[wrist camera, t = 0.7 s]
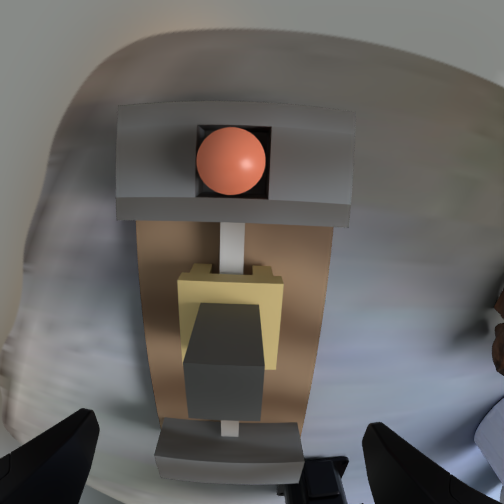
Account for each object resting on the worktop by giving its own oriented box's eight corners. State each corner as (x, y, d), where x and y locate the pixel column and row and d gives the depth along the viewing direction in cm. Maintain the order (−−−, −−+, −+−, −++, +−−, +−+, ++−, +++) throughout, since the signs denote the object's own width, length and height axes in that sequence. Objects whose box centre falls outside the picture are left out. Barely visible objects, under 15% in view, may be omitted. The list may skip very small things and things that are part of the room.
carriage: (272, 344, 19) (285, 437, 11) (190, 341, 19) (165, 432, 11) (277, 266, 17) (300, 339, 10) (187, 263, 17) (148, 333, 10)
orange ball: (260, 190, 13) (264, 195, 11) (204, 188, 13) (195, 194, 11) (262, 135, 13) (267, 128, 10) (206, 133, 13) (197, 126, 10)
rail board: (295, 436, 24) (303, 485, 18) (167, 431, 23) (155, 480, 18) (332, 126, 17) (366, 113, 12) (145, 121, 17) (107, 107, 11)
